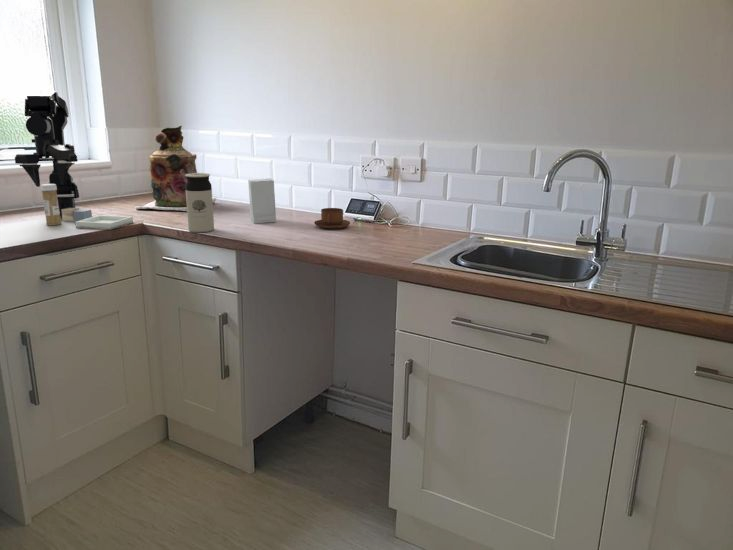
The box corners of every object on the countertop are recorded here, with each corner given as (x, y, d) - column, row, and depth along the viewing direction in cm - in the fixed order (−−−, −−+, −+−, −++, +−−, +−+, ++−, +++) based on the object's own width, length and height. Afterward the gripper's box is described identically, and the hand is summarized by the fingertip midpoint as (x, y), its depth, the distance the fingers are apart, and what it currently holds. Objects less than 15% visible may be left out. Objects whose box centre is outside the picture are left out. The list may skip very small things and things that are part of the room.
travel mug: (193, 227, 187) (189, 172, 182) (217, 228, 187) (213, 173, 182) (185, 232, 179) (180, 175, 174) (210, 233, 179) (206, 175, 174)
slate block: (82, 220, 198) (80, 209, 197) (92, 221, 197) (91, 209, 196) (74, 222, 194) (73, 211, 193) (85, 223, 193) (83, 211, 192)
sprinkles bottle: (62, 224, 189) (56, 184, 185) (46, 226, 187) (40, 185, 183) (60, 222, 193) (55, 183, 189) (45, 224, 190) (39, 183, 187)
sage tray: (100, 220, 197) (99, 215, 196) (133, 222, 195) (132, 216, 194) (76, 227, 185) (75, 221, 184) (111, 229, 183) (110, 223, 182)
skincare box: (273, 219, 203) (271, 178, 199) (276, 222, 198) (275, 179, 193) (249, 221, 200) (247, 178, 196) (252, 224, 195) (250, 180, 191)
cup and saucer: (352, 230, 186) (352, 212, 184) (315, 231, 184) (315, 212, 183) (347, 224, 198) (347, 206, 196) (313, 224, 196) (312, 207, 194)
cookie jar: (163, 201, 242) (157, 124, 234) (218, 203, 239) (213, 125, 230) (133, 210, 219) (124, 125, 210) (193, 212, 216) (187, 126, 207)
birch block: (70, 218, 201) (69, 207, 199) (80, 219, 200) (79, 208, 199) (62, 220, 197) (61, 209, 196) (73, 221, 196) (71, 209, 195)
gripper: (36, 135, 168) (44, 188, 172) (87, 136, 185) (92, 184, 189) (10, 135, 172) (17, 187, 176) (61, 136, 189) (67, 183, 193)
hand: (50, 185), depth 183 cm, fingers open, 9 cm apart
